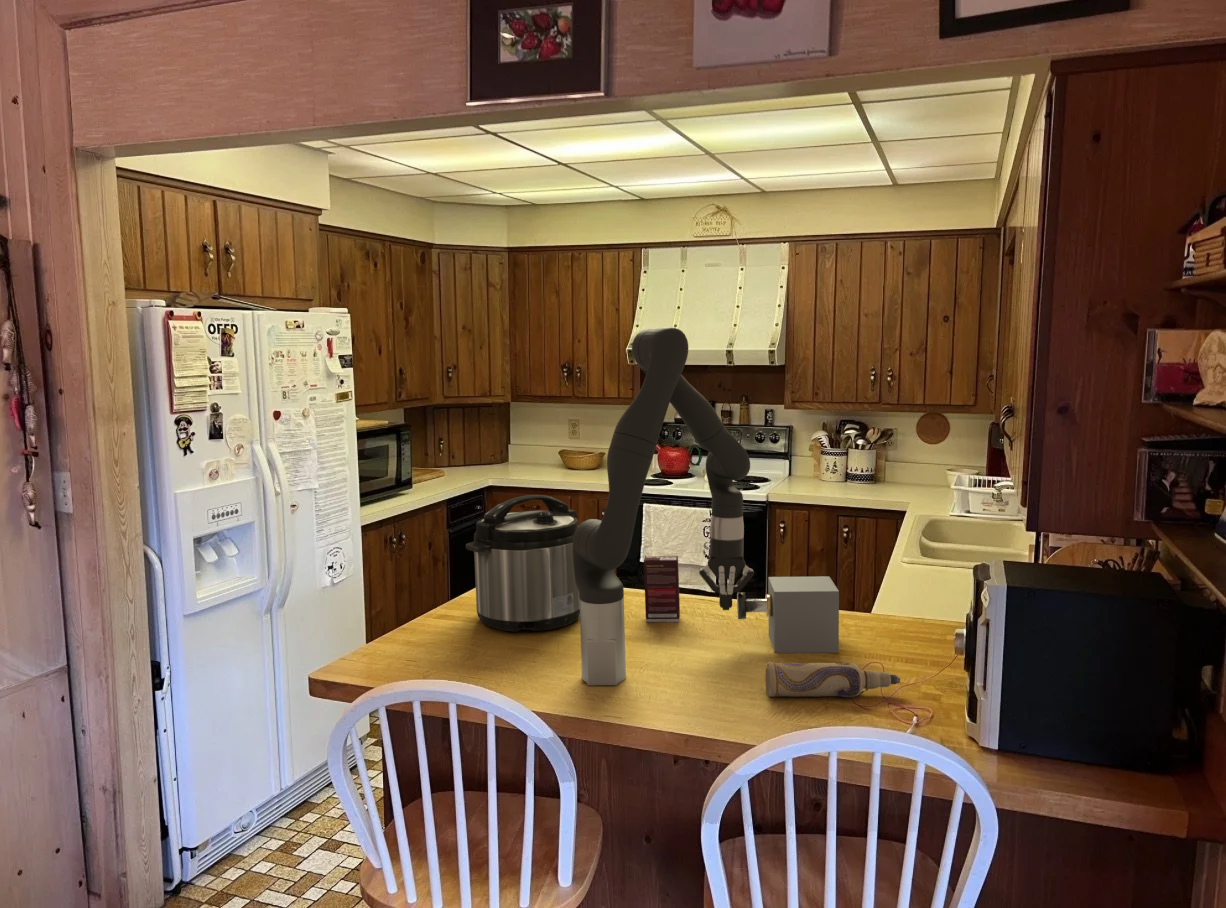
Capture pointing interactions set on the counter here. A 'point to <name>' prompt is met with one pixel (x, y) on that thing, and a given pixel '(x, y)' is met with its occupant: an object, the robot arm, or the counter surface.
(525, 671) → the counter surface
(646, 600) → the supplement box
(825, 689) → the decorative bottle
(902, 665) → the counter surface
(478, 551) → the pressure cooker
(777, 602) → the bearing block
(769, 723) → the counter surface
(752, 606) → the shaft
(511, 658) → the counter surface
